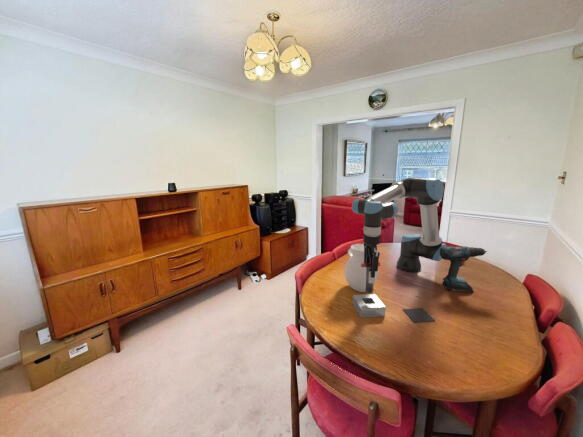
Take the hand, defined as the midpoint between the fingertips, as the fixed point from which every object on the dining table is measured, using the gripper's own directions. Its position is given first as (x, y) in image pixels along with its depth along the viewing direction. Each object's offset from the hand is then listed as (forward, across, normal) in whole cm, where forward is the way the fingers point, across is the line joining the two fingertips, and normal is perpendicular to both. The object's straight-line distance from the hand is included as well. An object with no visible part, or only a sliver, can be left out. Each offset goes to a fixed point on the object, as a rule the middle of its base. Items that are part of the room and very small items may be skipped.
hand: (369, 280), depth 120 cm
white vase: (+16, -22, +4) cm, 27 cm away
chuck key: (+5, 0, 0) cm, 5 cm away
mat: (+16, +7, +22) cm, 28 cm away
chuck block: (+16, 0, 0) cm, 16 cm away
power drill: (+17, -15, +59) cm, 63 cm away
